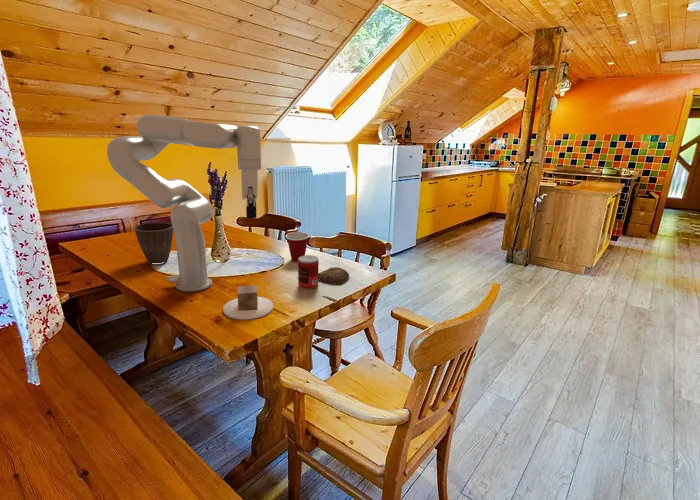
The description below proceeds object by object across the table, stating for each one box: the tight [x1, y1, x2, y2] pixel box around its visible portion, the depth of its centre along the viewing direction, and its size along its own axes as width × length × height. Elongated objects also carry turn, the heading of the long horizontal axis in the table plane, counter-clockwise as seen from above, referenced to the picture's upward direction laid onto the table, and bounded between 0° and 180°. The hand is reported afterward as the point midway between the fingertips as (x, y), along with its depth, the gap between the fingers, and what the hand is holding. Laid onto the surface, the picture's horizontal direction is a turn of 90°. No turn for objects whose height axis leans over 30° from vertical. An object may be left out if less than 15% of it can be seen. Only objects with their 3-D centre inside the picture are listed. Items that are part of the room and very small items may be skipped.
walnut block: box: [237, 285, 259, 311], centre depth 125 cm, size 6×6×6 cm
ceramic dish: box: [222, 296, 274, 321], centre depth 126 cm, size 16×16×1 cm
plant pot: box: [133, 222, 174, 265], centre depth 164 cm, size 15×15×16 cm
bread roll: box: [318, 266, 350, 285], centre depth 155 cm, size 13×12×5 cm
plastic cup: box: [285, 231, 310, 263], centre depth 174 cm, size 11×11×12 cm
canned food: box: [297, 254, 320, 290], centre depth 145 cm, size 8×8×11 cm
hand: (251, 215), depth 132 cm, fingers open, 9 cm apart
